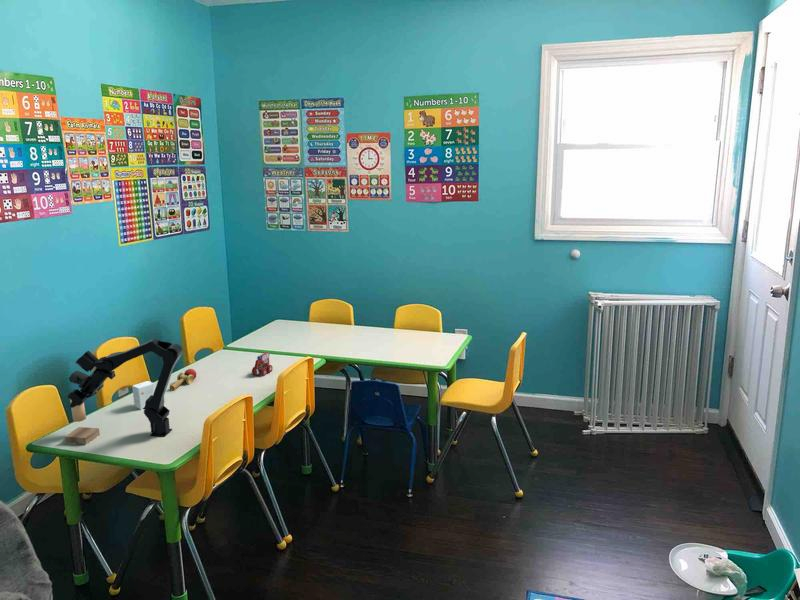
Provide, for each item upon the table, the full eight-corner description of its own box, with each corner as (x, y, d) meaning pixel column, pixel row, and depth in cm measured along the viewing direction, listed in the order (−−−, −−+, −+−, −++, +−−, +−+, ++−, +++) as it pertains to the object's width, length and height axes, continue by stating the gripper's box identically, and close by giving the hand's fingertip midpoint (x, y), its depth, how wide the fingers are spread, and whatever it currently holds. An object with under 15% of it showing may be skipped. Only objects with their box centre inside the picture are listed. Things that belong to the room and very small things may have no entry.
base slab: (99, 434, 262) (98, 428, 262) (86, 444, 254) (85, 437, 253) (79, 433, 264) (78, 427, 263) (65, 443, 255) (64, 436, 254)
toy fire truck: (249, 376, 328) (248, 357, 326) (263, 368, 339) (262, 350, 337) (261, 378, 325) (259, 358, 323) (274, 370, 337) (273, 351, 334)
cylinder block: (88, 416, 264) (84, 392, 261) (82, 421, 259) (78, 396, 257) (77, 416, 264) (73, 392, 262) (70, 421, 260) (66, 396, 257)
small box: (150, 401, 297) (148, 380, 294) (156, 404, 293) (154, 383, 291) (134, 407, 291) (131, 385, 288) (140, 410, 287) (138, 388, 285)
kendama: (181, 394, 309) (201, 376, 325) (176, 382, 307) (198, 365, 323) (168, 395, 312) (189, 377, 328) (163, 383, 310) (185, 366, 326)
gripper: (92, 358, 265) (70, 383, 268) (68, 373, 247) (45, 400, 250) (113, 375, 267) (91, 400, 270) (91, 392, 249) (68, 418, 252)
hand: (74, 404), depth 260 cm, fingers closed on cylinder block, 5 cm apart
